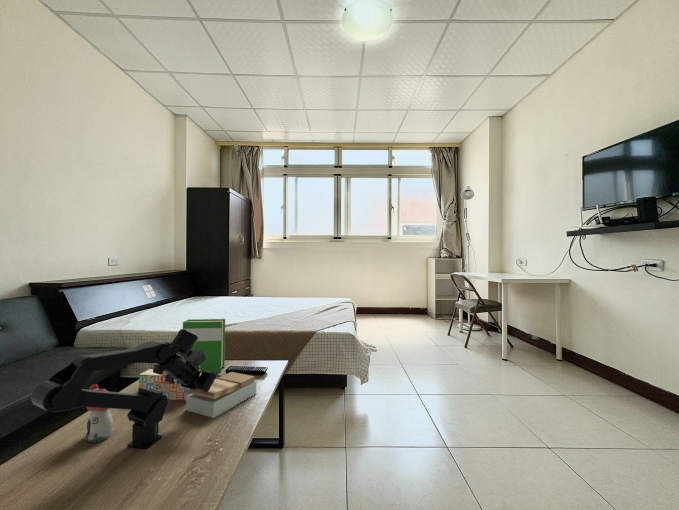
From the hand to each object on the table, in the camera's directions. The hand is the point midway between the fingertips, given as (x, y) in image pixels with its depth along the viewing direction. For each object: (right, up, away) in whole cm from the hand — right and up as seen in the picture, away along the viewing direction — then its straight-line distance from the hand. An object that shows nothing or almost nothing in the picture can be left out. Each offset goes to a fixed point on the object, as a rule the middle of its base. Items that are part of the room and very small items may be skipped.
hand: (204, 388), depth 113 cm
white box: (+4, -8, +8) cm, 12 cm away
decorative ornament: (-25, -8, -17) cm, 31 cm away
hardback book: (-18, -9, +42) cm, 47 cm away
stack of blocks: (-19, -9, +13) cm, 24 cm away
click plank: (+2, -3, +4) cm, 5 cm away
